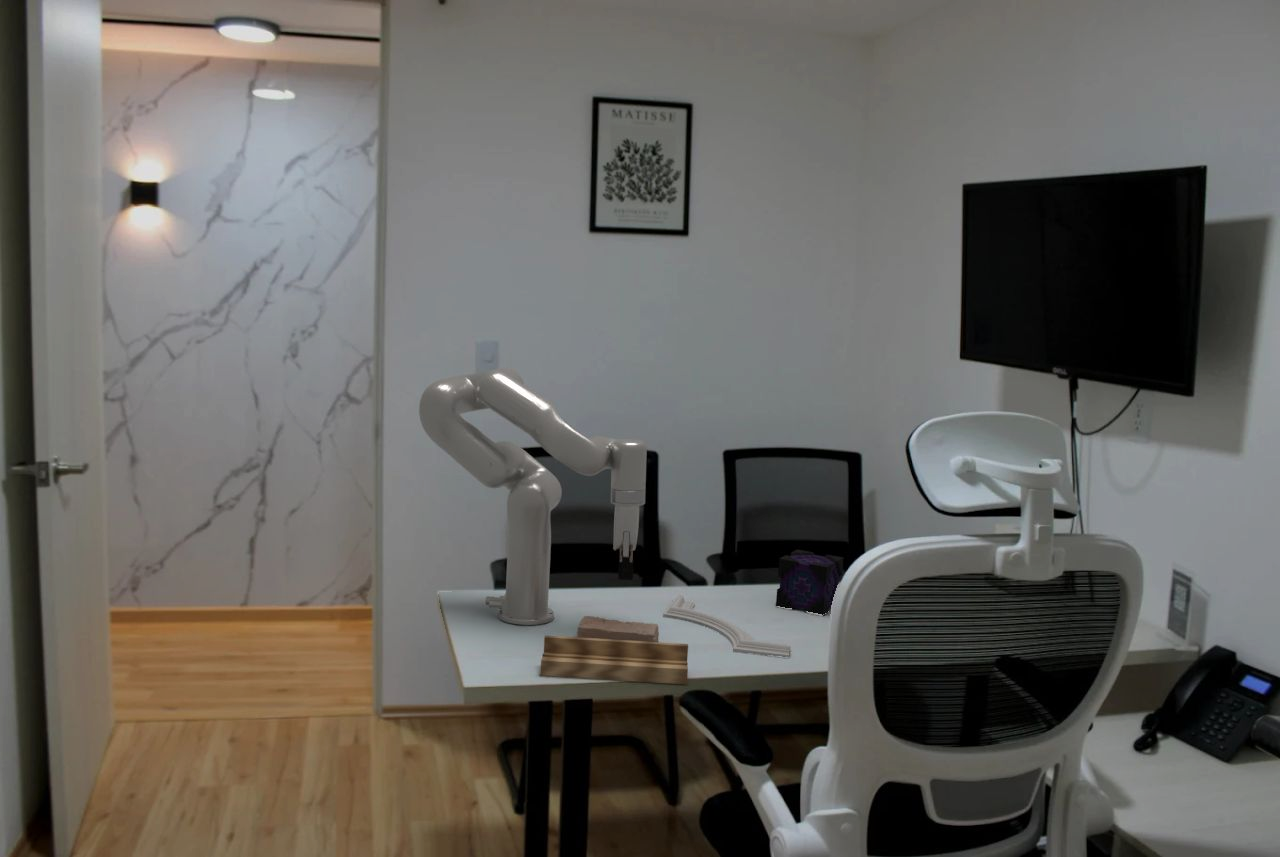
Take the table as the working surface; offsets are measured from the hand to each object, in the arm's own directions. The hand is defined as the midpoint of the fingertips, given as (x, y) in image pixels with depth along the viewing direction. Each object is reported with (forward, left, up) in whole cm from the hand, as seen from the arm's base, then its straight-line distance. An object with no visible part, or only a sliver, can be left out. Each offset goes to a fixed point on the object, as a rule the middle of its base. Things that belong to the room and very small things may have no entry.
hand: (625, 578), depth 244 cm
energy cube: (+44, +26, -11) cm, 53 cm away
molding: (+23, +4, -12) cm, 26 cm away
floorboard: (-1, -28, -11) cm, 30 cm away
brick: (-1, -11, -12) cm, 16 cm away
